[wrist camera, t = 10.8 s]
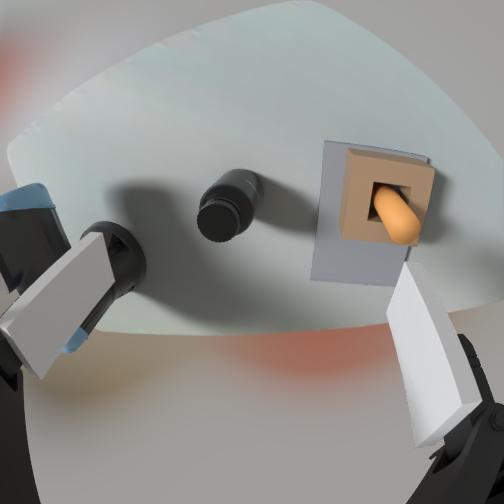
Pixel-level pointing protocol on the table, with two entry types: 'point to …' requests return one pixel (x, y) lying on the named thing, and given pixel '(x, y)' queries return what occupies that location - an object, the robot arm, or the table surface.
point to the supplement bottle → (229, 205)
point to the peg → (395, 213)
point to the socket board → (346, 250)
